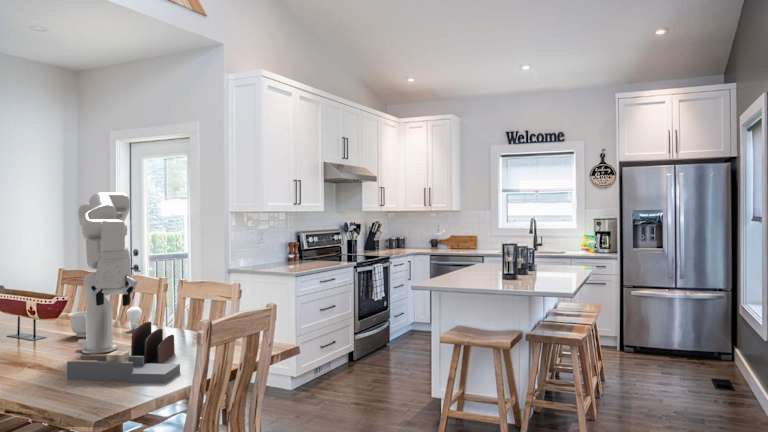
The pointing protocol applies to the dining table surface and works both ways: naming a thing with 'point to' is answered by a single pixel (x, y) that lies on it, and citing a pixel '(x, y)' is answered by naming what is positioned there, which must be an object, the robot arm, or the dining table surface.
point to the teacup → (78, 323)
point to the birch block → (118, 356)
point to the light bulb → (134, 316)
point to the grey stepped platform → (120, 370)
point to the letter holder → (151, 344)
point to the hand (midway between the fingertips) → (113, 305)
